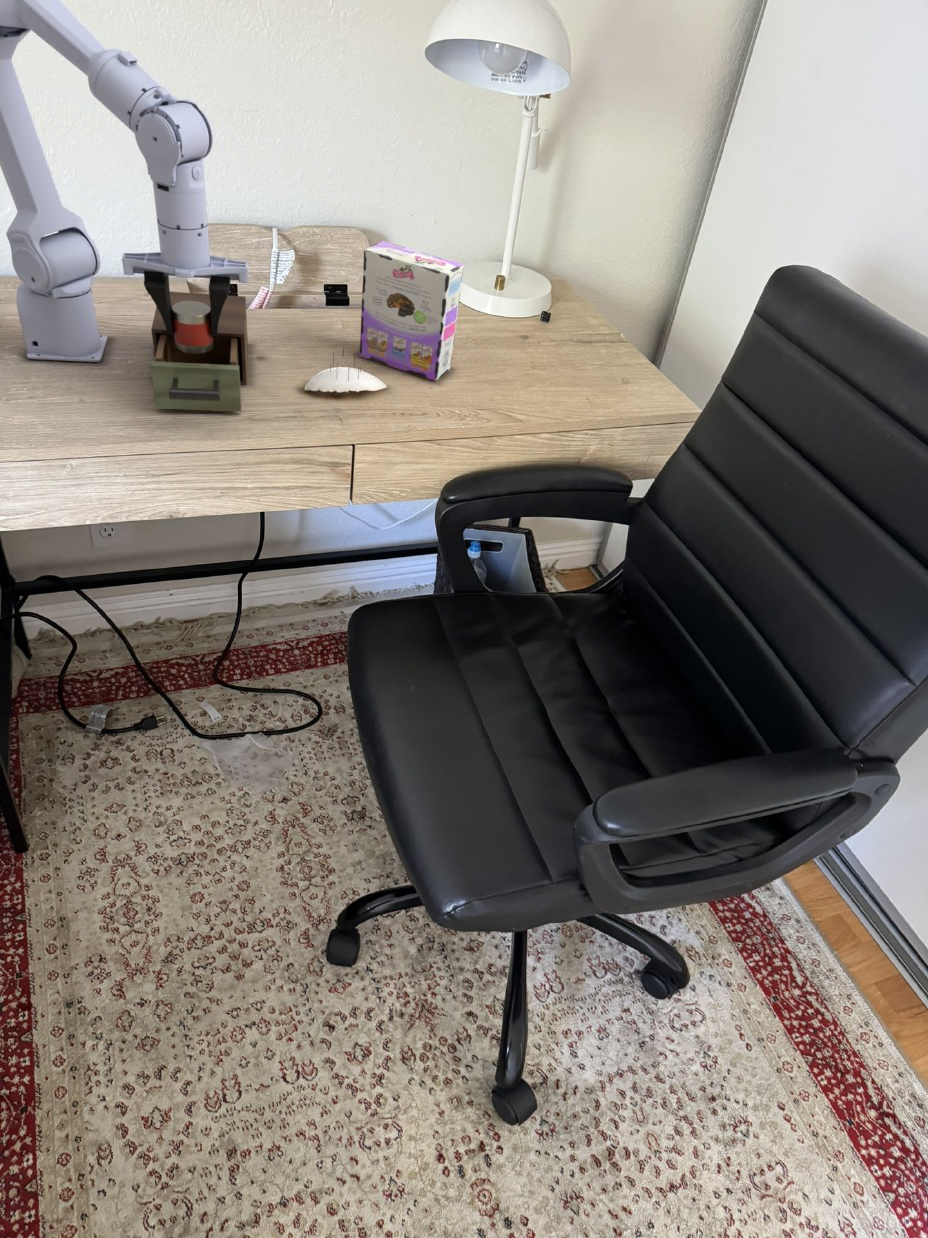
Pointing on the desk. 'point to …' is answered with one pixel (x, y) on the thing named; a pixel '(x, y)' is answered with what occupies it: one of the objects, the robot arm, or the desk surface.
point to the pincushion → (344, 380)
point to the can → (192, 327)
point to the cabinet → (229, 323)
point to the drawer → (197, 376)
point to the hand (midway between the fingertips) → (192, 332)
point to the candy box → (409, 309)
